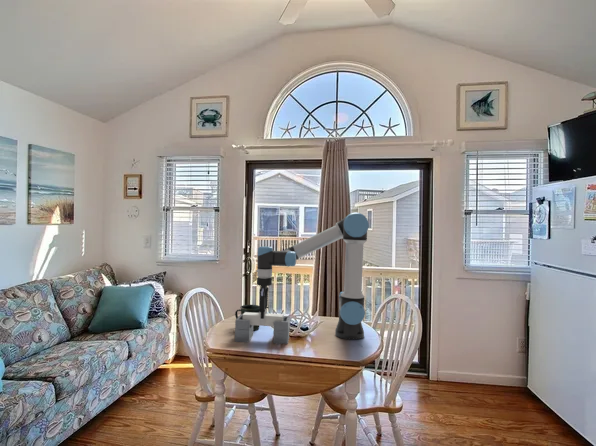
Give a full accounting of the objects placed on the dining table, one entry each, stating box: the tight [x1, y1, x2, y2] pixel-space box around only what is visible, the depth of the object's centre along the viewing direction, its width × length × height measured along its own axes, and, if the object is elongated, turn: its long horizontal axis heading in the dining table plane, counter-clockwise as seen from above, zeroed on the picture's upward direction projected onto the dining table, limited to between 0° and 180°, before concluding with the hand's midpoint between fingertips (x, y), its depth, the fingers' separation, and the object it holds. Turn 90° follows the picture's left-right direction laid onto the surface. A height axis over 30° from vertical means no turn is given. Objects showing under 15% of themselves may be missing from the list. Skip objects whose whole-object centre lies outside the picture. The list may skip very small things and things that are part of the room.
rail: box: [243, 312, 285, 327], centre depth 176 cm, size 20×5×5 cm, turn 85°
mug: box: [234, 304, 260, 332], centre depth 194 cm, size 11×15×12 cm
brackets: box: [234, 313, 291, 345], centre depth 176 cm, size 26×11×10 cm, turn 87°
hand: (263, 323), depth 176 cm, fingers closed on rail, 5 cm apart
